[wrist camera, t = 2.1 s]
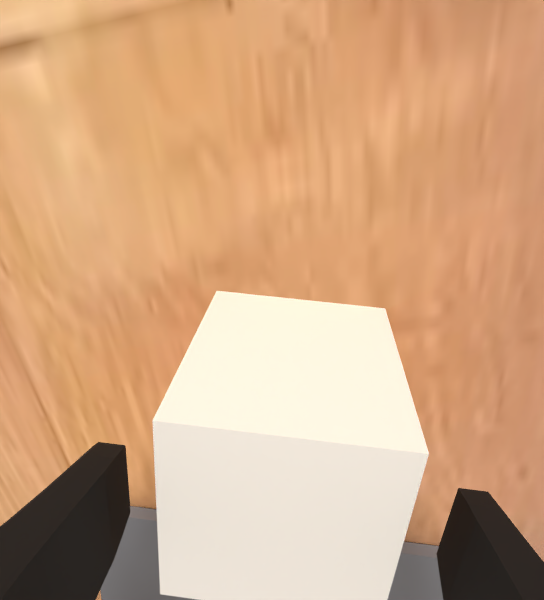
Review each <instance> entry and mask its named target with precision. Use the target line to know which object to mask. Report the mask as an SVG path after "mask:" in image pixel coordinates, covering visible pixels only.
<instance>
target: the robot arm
mask: <svg viewBox="0 0 544 600" xmlns="http://www.w3.org/2000/svg"><path fill="white" fill-rule="evenodd" d="M129 515H130V499H129V486H128V474H127V461H126V448H125V445H117V444H109V443H101V442H98V443H97V444H95V445H94V446H93V447H92V448H91V449H89V450H88V451H87V452H86V453H85V454H84V455H83V456H82V457H80V458H79V459H78V460H77V461H76V462H75V463H74V464H73V465H71V466H70V467H69V468H68V469H67V470H66V471H65V472H64V473H63V474H61V475H60V476H59V477H58V478H57V479H56V480H55V481H53V482H52V483H51V484H50V485H49V486H48V487H47V488H45V489H44V490H43V491H42V492H41V493H40V494H39V495H37V496H36V497H35V498H34V499H33V500H31V501H30V502H29V503H28V504H27V505H26V506H24V507H23V508H22V509H21V510H20V511H18V512H17V513H16V514H15V515H14V516H13V517H11V518H10V519H9V520H8V521H7V522H5V523H4V524H3V525H2V526H0V600H95V599H96V597H97V595H98V593H99V591H100V589H101V587H102V584H103V582H104V580H105V578H106V576H107V574H108V572H109V569H110V567H111V565H112V563H113V561H114V558H115V555H116V553H117V550H118V547H119V544H120V541H121V539H122V536H123V533H124V530H125V527H126V524H127V521H128V518H129ZM437 561H438V568H439V575H440V582H441V588H442V594H443V600H544V562H543V561H542V560H541V558H540V557H539V556H538V555H537V553H536V552H535V551H534V549H533V548H532V547H531V546H530V544H529V543H528V542H527V541H526V539H525V538H524V537H523V536H522V534H521V533H520V532H519V531H518V529H517V528H516V527H515V525H514V524H513V523H512V522H511V520H510V519H509V518H508V517H507V515H506V514H505V513H504V511H503V510H502V509H501V508H500V506H499V505H498V504H497V503H496V501H495V500H494V499H493V498H492V496H491V495H490V494H489V493H488V492H485V491H477V490H469V489H461V488H458V491H457V494H456V497H455V500H454V503H453V506H452V509H451V512H450V515H449V518H448V521H447V524H446V527H445V530H444V533H443V536H442V539H441V542H440V545H439V548H438V551H437Z"/></svg>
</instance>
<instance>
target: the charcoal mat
mask: <svg viewBox="0 0 544 600" xmlns="http://www.w3.org/2000/svg"><path fill="white" fill-rule="evenodd" d="M438 548H439V546H434V545H426V544H418V543H411V542H404V543H403V546H402V550H401V553H400V557H399V561H398V564H397V568H396V571H395V575H394V578H393V582H392V585H391V589H390V592H389V596H388V599H387V600H443V594H442V588H441V582H440V575H439V568H438V561H437V551H438ZM100 590H101V598H102V600H198V599H190V598H183V597H176V596H169V595H162V594H160V578H159V555H158V532H157V510H156V509H149V508H141V507H133V506H130V515H129V518H128V521H127V524H126V527H125V530H124V533H123V536H122V539H121V541H120V544H119V547H118V550H117V553H116V555H115V558H114V561H113V563H112V565H111V567H110V569H109V572H108V574H107V576H106V578H105V580H104V582H103V584H102V587H101V589H100Z"/></svg>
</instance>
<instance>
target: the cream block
mask: <svg viewBox="0 0 544 600" xmlns="http://www.w3.org/2000/svg"><path fill="white" fill-rule="evenodd" d="M153 440H154V463H155V486H156V509H157V532H158V555H159V578H160V594H162V595H169V596H176V597H183V598H190V599H198V600H387V599H388V596H389V592H390V589H391V585H392V582H393V578H394V575H395V571H396V568H397V564H398V561H399V557H400V553H401V550H402V546H403V543H404V539H405V536H406V532H407V529H408V525H409V522H410V518H411V515H412V511H413V508H414V504H415V501H416V497H417V494H418V490H419V487H420V483H421V480H422V476H423V473H424V469H425V465H426V462H427V458H428V455H429V453H428V449H427V446H426V443H425V439H424V436H423V433H422V430H421V426H420V423H419V420H418V416H417V413H416V410H415V406H414V403H413V400H412V396H411V393H410V390H409V386H408V383H407V380H406V376H405V373H404V370H403V366H402V363H401V360H400V356H399V353H398V350H397V346H396V343H395V340H394V337H393V333H392V330H391V327H390V323H389V320H388V317H387V313H386V310H385V308H375V307H366V306H356V305H347V304H337V303H328V302H318V301H309V300H299V299H290V298H280V297H271V296H261V295H252V294H242V293H233V292H223V291H216V293H215V295H214V297H213V300H212V302H211V304H210V306H209V308H208V310H207V312H206V314H205V316H204V318H203V320H202V322H201V324H200V326H199V328H198V330H197V332H196V334H195V336H194V338H193V340H192V342H191V344H190V346H189V348H188V350H187V352H186V354H185V356H184V358H183V360H182V362H181V364H180V366H179V368H178V370H177V372H176V374H175V376H174V378H173V380H172V382H171V385H170V387H169V389H168V391H167V393H166V395H165V397H164V399H163V401H162V403H161V405H160V407H159V409H158V411H157V413H156V415H155V417H154V419H153Z"/></svg>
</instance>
